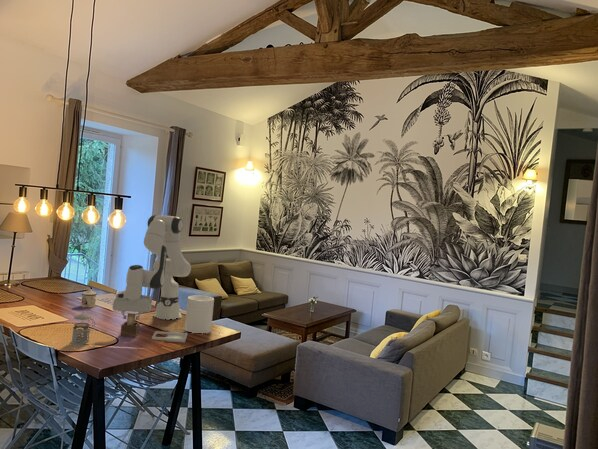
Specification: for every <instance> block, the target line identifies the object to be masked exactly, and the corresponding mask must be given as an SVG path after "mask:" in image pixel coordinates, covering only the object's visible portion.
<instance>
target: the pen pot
mask: <svg viewBox="0 0 598 449" xmlns="http://www.w3.org/2000/svg"><path fill="white" fill-rule="evenodd" d="M139 330H140V322H137V321H135V323H134V326H133V325H127V320H125V321H124V322H123V323H122V324H121V325H120V334H119V336H120V337H124V338H125V337H126V338H136V337H137V336H138V335H139V332H140V331H139Z"/></svg>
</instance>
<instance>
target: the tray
mask: <svg viewBox="0 0 598 449" xmlns="http://www.w3.org/2000/svg"><path fill="white" fill-rule="evenodd" d="M188 334H189V333H188V332H177V331H163V330H162V331H160V330H155V331H154V332H153V334H152V336H151V340H154V341H155V340H158V341H164V342H167V343H169V342H170V343H186V341H187V338H188ZM157 335H166V336H164V337H163V336H157Z"/></svg>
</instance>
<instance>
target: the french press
mask: <svg viewBox="0 0 598 449" xmlns="http://www.w3.org/2000/svg"><path fill="white" fill-rule="evenodd" d="M82 297H83V298H84V299H85V298H86V295H83V296H82V295H81V298H82ZM84 308H85V307H84V305H83V307H82V309H83V310H82V311H84ZM73 319H75V320H77V321H78V320H80V321H81V322H78V323H77V322H76V323H75V324H74V325H73V328H72V337H71V338H72V340H71V342H70V341H69V345H70V344H71V345H70V346H72V345H73V347H86V346H89V344H88V343H89V339H90V333H92V332H93V331H94V329H95V327H96V322H95V320H94V319H93V318H92V315H89V314H88V313H84V312H82V313H78V314H75V315H74V316H73ZM85 320H87V321H88V322H90V321H92V323H93V324H92V326H90V323H88V322H83V321H85ZM90 327H91V328H90Z"/></svg>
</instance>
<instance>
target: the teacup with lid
mask: <svg viewBox="0 0 598 449" xmlns="http://www.w3.org/2000/svg"><path fill="white" fill-rule="evenodd" d="M83 295H86V298H85V299H84V298H83V297H82V296H83ZM96 300H97V293H96V291H93V290H92V288H89V289H87V290H86V291H83V292H82V293H81V304H80V307H81V308H83V305H84V308H86V307H87V309H88V308H94V307H96Z"/></svg>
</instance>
